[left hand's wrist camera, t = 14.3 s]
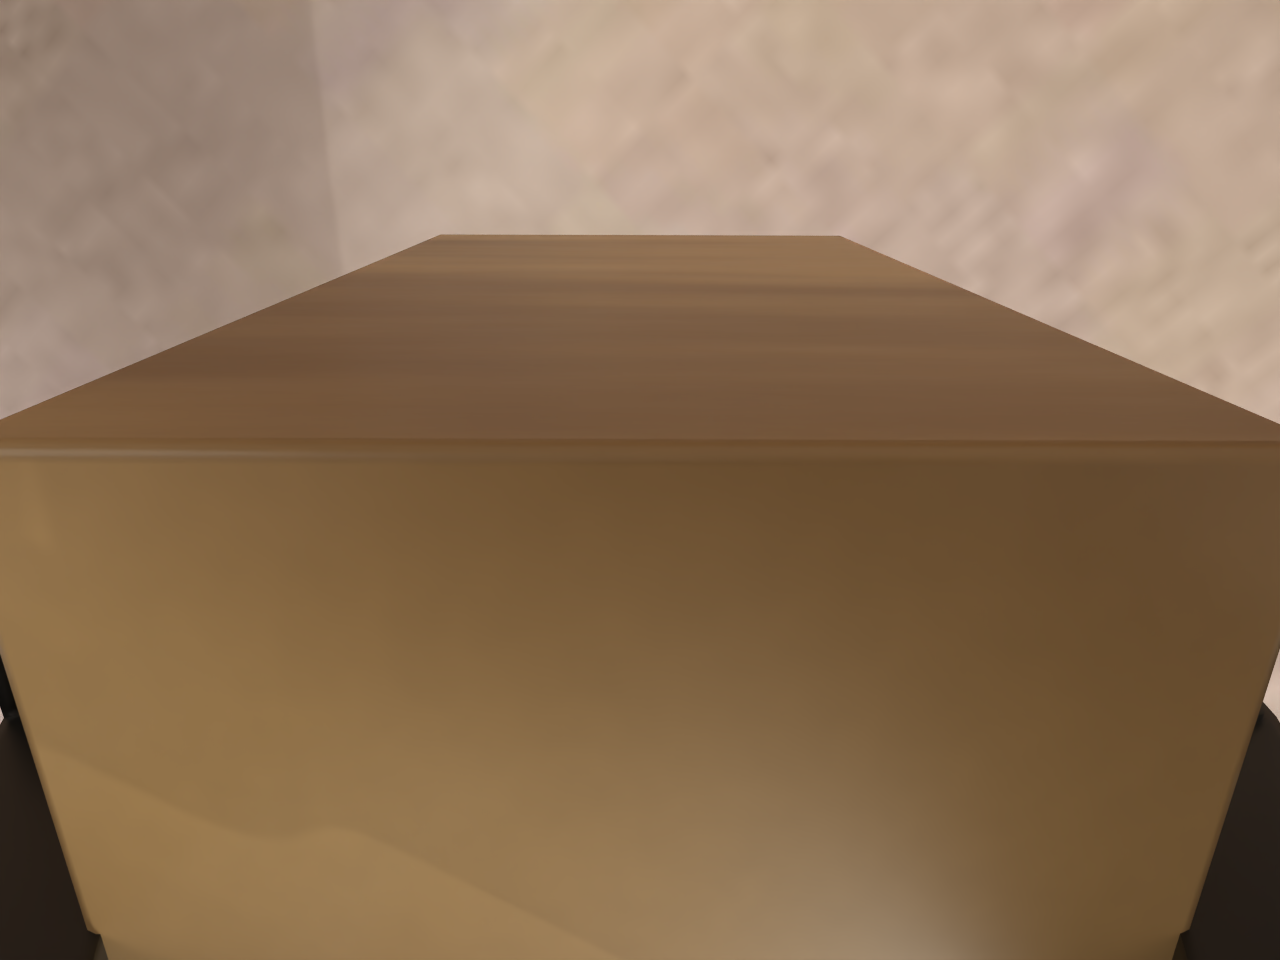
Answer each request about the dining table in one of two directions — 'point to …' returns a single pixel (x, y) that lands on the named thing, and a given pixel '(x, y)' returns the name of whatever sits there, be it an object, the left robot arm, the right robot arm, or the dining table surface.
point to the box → (638, 618)
